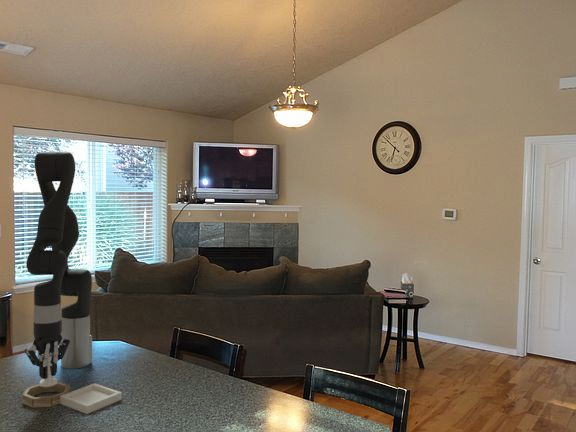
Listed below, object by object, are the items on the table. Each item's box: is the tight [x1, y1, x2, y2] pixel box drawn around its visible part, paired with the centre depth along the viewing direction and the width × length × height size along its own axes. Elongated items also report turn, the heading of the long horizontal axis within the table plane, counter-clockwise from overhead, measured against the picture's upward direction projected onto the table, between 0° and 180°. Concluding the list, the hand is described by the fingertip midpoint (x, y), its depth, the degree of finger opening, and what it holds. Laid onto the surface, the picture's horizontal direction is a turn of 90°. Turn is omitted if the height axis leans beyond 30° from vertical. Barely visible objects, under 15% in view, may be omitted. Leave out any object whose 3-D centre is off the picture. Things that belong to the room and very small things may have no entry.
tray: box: [60, 382, 123, 415], centre depth 155 cm, size 12×12×2 cm
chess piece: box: [38, 353, 58, 387], centre depth 156 cm, size 5×5×10 cm
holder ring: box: [22, 381, 71, 408], centre depth 156 cm, size 12×12×2 cm
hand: (48, 376), depth 156 cm, fingers closed on chess piece
